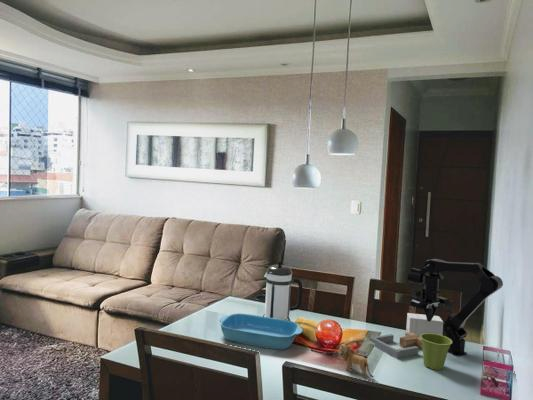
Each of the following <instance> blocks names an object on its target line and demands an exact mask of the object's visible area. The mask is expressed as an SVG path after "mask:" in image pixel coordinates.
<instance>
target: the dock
mask: <svg viewBox="0 0 533 400" xmlns="http://www.w3.org/2000/svg"><path fill="white" fill-rule="evenodd" d="M368 338H369V339H368V341H369V340H370V341H372V342H373V343H375V348H377V349H378V350H380V351H382V352H383V353H385V354H386V355H389V356H391V357H393V358H394V359H396V360H399V359H400V358H406V357H412V356H417V355H419V348H418V347H417V346H413V347H408V348H402V347H401V348H395V347H392V346H391V345H389V343H394V338H395V337H394V334H392V333H390V334H383V335H377V336H369V337H368Z"/></svg>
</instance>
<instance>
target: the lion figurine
mask: <svg viewBox="0 0 533 400" xmlns="http://www.w3.org/2000/svg"><path fill="white" fill-rule="evenodd" d="M337 354H338V356H340V357H341V358H342V359H343V361H345V362H346V368H345V371H347V372H348V371H349V370H350V369H352V368H353V365H355V366H359V369H360V370H361V374H364V375H363V377H362V378H363V379H368V375H369V376H370V377H371V378H374V375H373V374H371V373H370V368H369V362H368V359H367V358H366V357H365V356H362V355H359V354H356V353H355V351H354V349H353V348H351V347H350V346H349V345H347V344H345V343H343V344H339V349H338V350H337Z"/></svg>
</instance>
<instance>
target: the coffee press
mask: <svg viewBox="0 0 533 400" xmlns="http://www.w3.org/2000/svg"><path fill="white" fill-rule="evenodd" d="M292 275H293V271H292V268H291V267H290V266H287V265H284V264H283V261H282V260H278V261H277V264H273V265H269V267H267V269H266V272H265V274H264V276H263V277H264V278H266V280H265V282H266V287H265V306H264V307H265V308H264V313H263V315H262V316H263V317H270V318H276V319H282V320H288V321H291V318H290V312H292V311H293V312H294V311H297V310H298V309H300V307H301V305H302V303H303V302H302V298H303V283H302V281H301V280H300V279H298V278H295V277H294V278H292V277H293V276H292ZM292 283H297V286H298V293H297V303H296V304H295V306H291V290H292Z"/></svg>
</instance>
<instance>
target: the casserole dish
mask: <svg viewBox="0 0 533 400" xmlns="http://www.w3.org/2000/svg"><path fill="white" fill-rule="evenodd" d="M218 321H219V322H220V327H221V332H222V335H223V336H224V337H225V339H227V340H228V341H230V342H234V343H238V344H243V345H249V346H255V347H260V348H267V349H272V350H273V349H274V350H286V349H288V348H289V347H290V346H291V345H292V344H293V342H294V340H295V339H296V337H297V336H299V335H301V334H302V333H303V331H304V330H303V328H302V327H301V326H300V324H299V323H297V322H295V321H292V320H290V321H289V320H288V319H287V320H282V319H276V318H270V317H265V316H264V317H263V315H256V314H250V313H241V312H240V313H232V314H230V315H225V316H222V317H220V319H219V320H218Z"/></svg>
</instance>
